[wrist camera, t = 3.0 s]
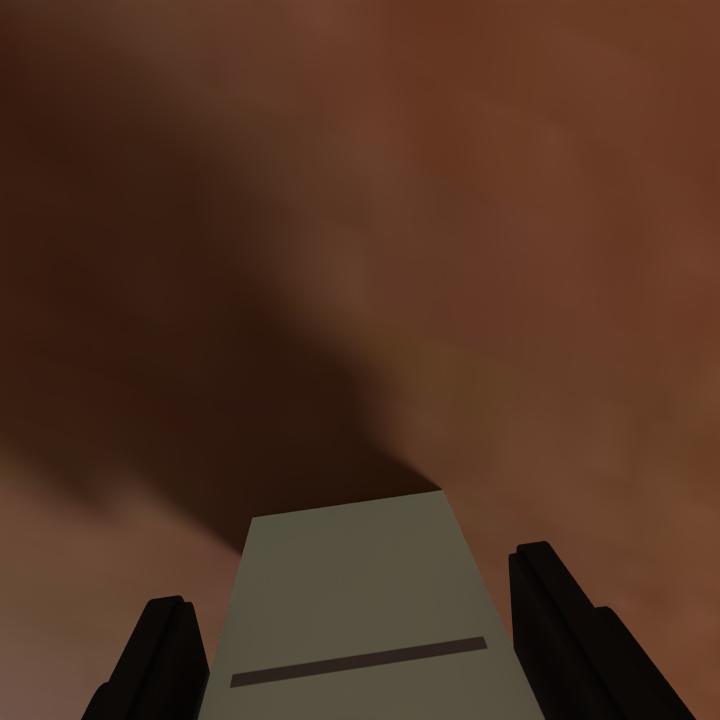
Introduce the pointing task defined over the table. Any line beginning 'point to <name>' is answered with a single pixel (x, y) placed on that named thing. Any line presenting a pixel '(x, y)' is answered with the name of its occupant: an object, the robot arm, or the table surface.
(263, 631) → the domino
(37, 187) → the table surface
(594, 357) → the table surface
